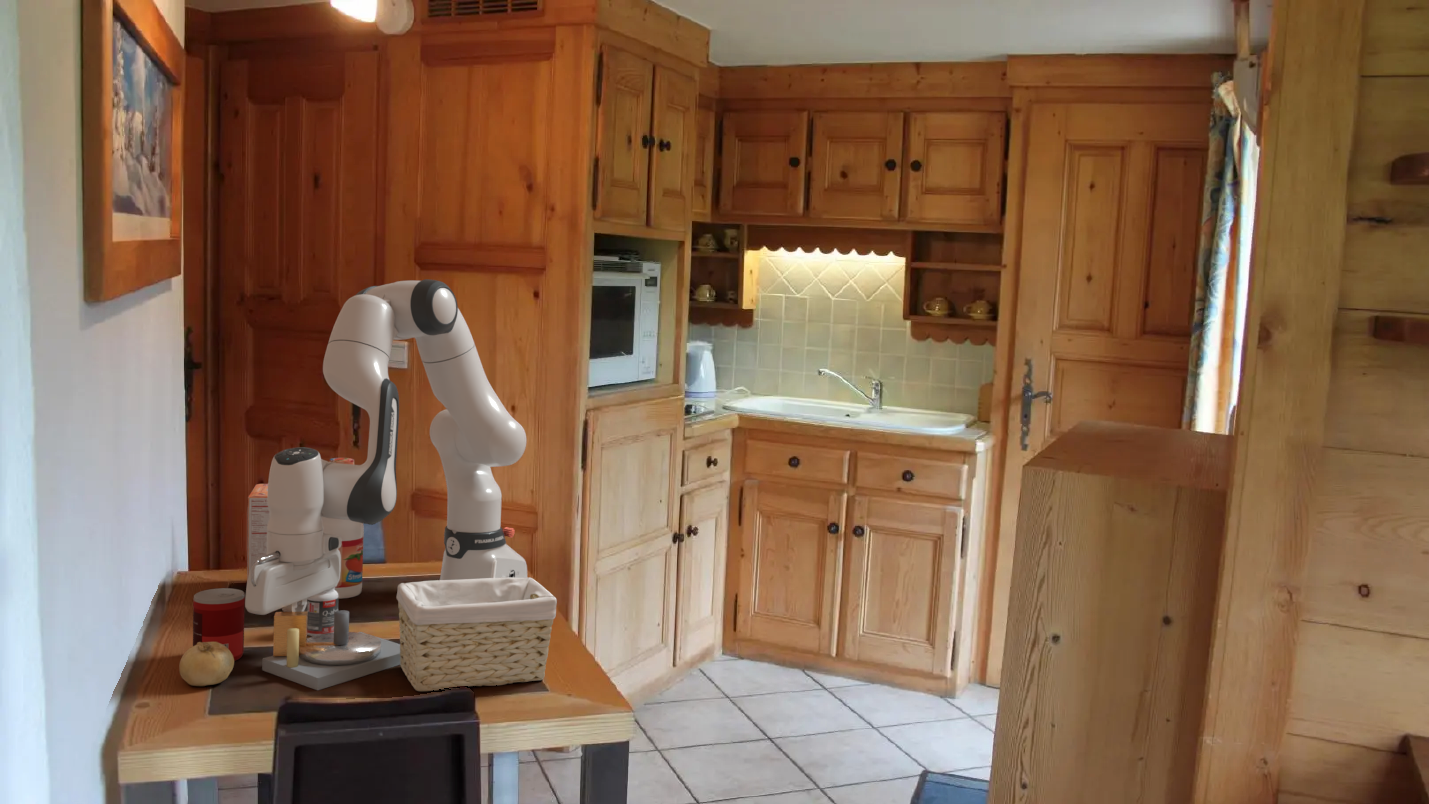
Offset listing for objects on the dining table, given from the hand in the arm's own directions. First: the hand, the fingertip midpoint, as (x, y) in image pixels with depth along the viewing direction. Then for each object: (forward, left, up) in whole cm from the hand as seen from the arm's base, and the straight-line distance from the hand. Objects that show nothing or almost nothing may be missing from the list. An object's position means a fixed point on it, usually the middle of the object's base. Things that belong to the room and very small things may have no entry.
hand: (293, 625), depth 190 cm
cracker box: (-24, -41, -6) cm, 48 cm away
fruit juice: (-32, -28, -6) cm, 43 cm away
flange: (-2, +6, -4) cm, 8 cm away
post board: (-4, +8, -6) cm, 10 cm away
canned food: (+7, -10, -6) cm, 14 cm away
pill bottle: (-13, -9, -6) cm, 17 cm away
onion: (+15, -1, -6) cm, 17 cm away
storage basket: (-15, +27, -6) cm, 32 cm away
